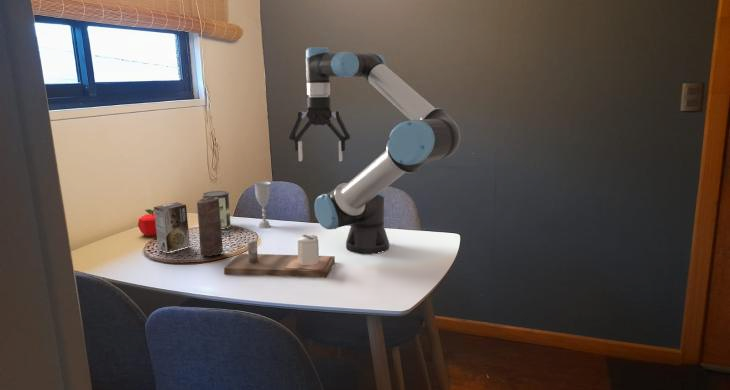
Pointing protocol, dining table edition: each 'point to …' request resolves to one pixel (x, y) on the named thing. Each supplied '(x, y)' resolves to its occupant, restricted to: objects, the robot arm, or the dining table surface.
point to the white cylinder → (308, 250)
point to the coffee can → (221, 206)
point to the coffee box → (172, 226)
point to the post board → (276, 265)
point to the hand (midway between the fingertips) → (320, 160)
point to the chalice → (263, 200)
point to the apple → (148, 224)
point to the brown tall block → (209, 226)
